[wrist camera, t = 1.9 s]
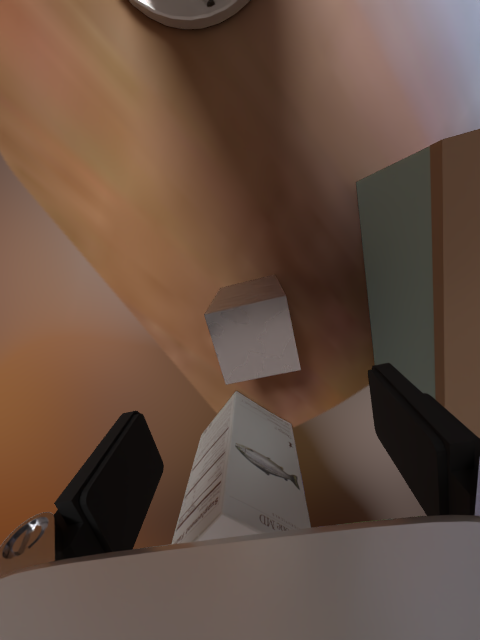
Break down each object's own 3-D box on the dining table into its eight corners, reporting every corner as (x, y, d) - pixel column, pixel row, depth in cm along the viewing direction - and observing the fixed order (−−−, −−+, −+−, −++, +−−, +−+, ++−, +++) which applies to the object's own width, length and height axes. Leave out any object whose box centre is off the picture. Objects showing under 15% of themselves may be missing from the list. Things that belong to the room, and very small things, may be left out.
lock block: (220, 287, 23) (204, 314, 16) (275, 274, 23) (285, 295, 15) (234, 338, 25) (225, 384, 17) (286, 326, 24) (300, 369, 17)
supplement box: (293, 422, 28) (324, 568, 16) (253, 465, 30) (253, 622, 18) (236, 386, 26) (222, 514, 15) (198, 433, 29) (159, 578, 17)
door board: (354, 182, 20) (442, 139, 11) (384, 174, 20) (499, 123, 11) (377, 397, 26) (445, 489, 17) (399, 393, 26) (482, 484, 16)
